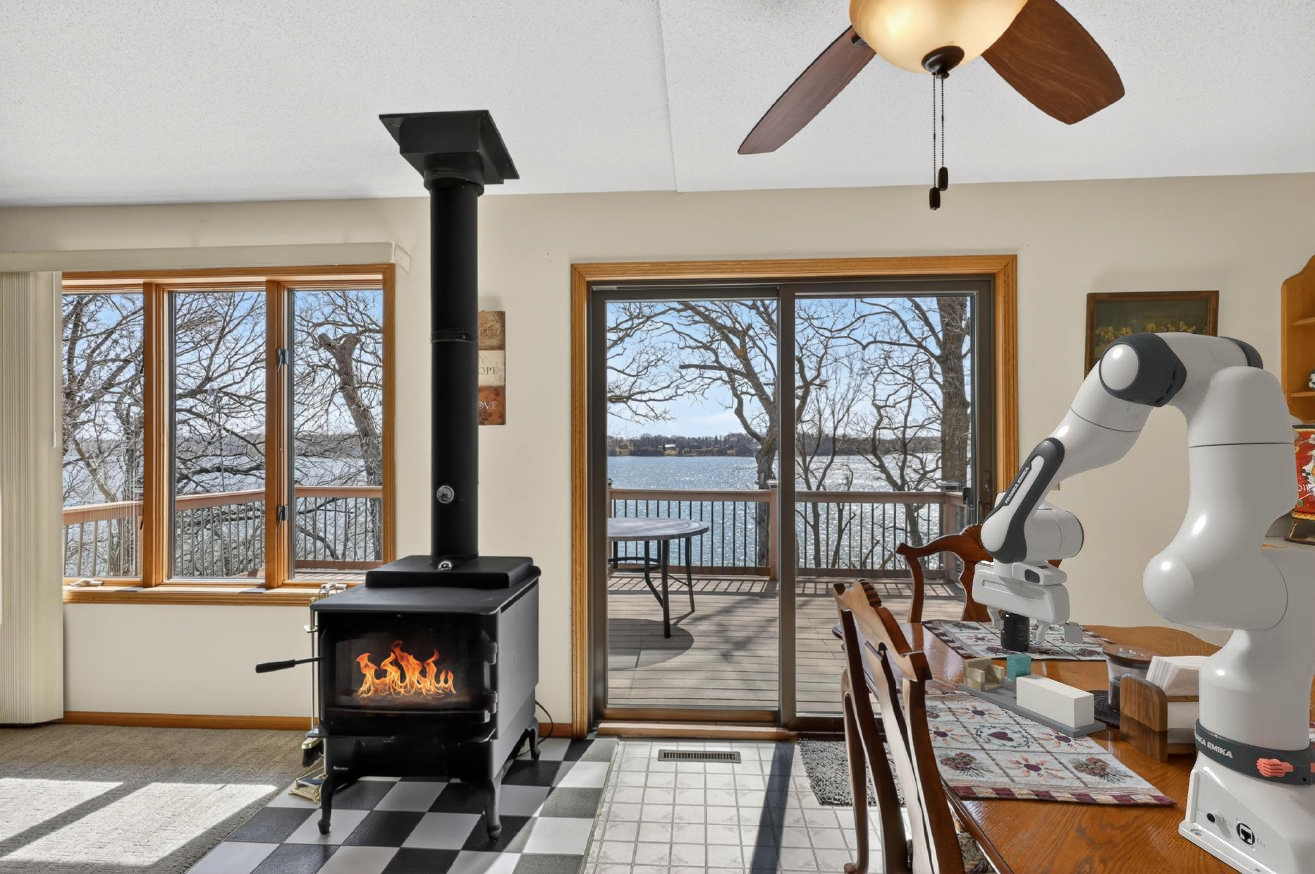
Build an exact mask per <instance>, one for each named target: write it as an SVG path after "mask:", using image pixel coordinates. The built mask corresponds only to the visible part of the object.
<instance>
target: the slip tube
mask: <svg viewBox="0 0 1315 874" xmlns="http://www.w3.org/2000/svg"><path fill="white" fill-rule="evenodd" d="M1027 675H1032V656H1031V655H1029V654H1025V653H1024V652H1021V653H1016V654H1009V655H1006V676H1005V678H1004V680H1003V687H1004V689H1005V690H1007V691H1009V692H1012V693H1014V694H1017V680H1016V677H1022V676H1027Z"/></svg>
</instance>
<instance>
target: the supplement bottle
mask: <svg viewBox="0 0 1315 874" xmlns="http://www.w3.org/2000/svg"><path fill="white" fill-rule="evenodd" d="M999 616H1000V619H1001V620H1004V624H1003V625H1004V628H1003V629H999V631H1000V632H999V633H1000V638H999V639H1000V641H999V642H1000V647H1002V648H1003V649H1005V650H1008V651H1013V652H1021V653H1025V652H1028V651H1029V650H1030V648H1031V647H1030V646H1031V639H1030V638H1031V618H1029V617H1026V616H1022V615H1019V614H1015V613H1012V612H1008V611H1005V610H1002V611H1001V612H1000V614H999Z"/></svg>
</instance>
